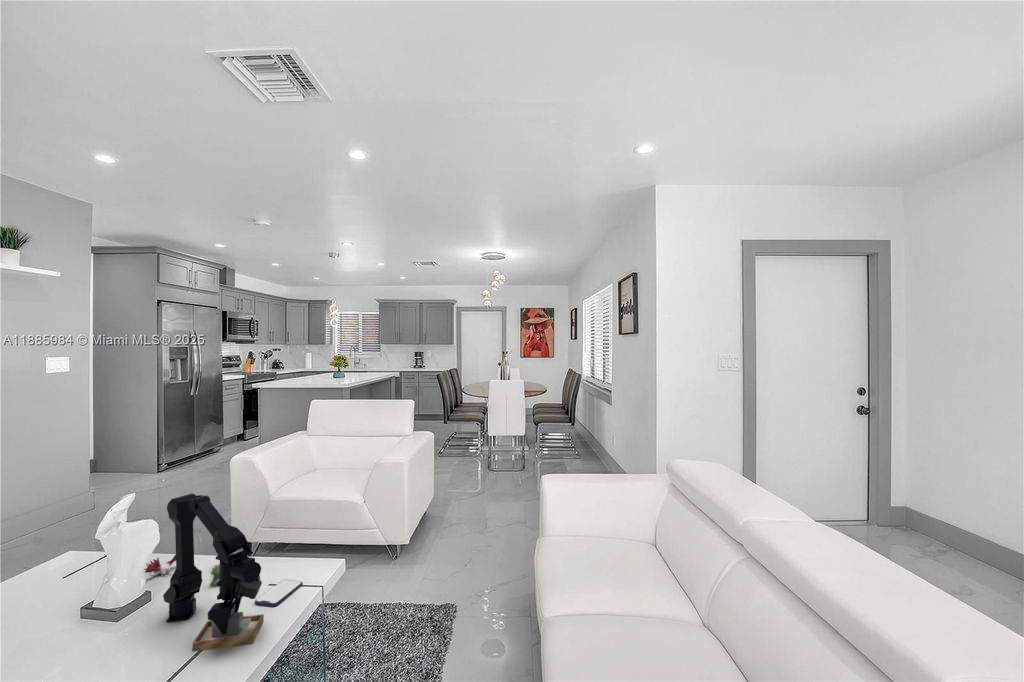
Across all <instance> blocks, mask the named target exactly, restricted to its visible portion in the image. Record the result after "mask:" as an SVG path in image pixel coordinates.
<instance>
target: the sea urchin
mask: <svg viewBox="0 0 1024 682" xmlns="http://www.w3.org/2000/svg"><path fill="white" fill-rule="evenodd" d="M201 571H202V570H201ZM203 572H204V571H202V573H203ZM206 572H209V573H208V574H207V575H210V574H211V575H210V576H209V578H210V581H208V582H209V583H208V584H209V586H210V587H213V588H214V587H217V582H218V581H219V577H220V563H218V564H214V565H213V566H212V567H211V569H210V570H208V569H207V570H206ZM206 572H205V573H203V574H206Z"/></svg>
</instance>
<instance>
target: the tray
mask: <svg viewBox="0 0 1024 682" xmlns="http://www.w3.org/2000/svg"><path fill="white" fill-rule="evenodd" d="M264 615H265V614H255V615H246V616H244V615H243V619H244V618H251V623H250V624H249V626H248V627H245V628H242V630H241V632H240V634H239V635H238V636H229V637H221V638H212V620H207V621H206V622H205V624H204V625H203V627H202V628H201V629H200V631H199V633H198V635H197V636H196V637H195V639H194V640H193V642H192V647H191V648H192V652H197V651H204V650H212V649H221V648H229V647H236V646H243V645H244V646H245V645H252V644H254V642H255V640H256V638H257V636H258V634H259V632H260V630H261V628H262V625H263V623H264Z"/></svg>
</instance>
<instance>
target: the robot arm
mask: <svg viewBox="0 0 1024 682" xmlns="http://www.w3.org/2000/svg"><path fill="white" fill-rule="evenodd" d="M169 500H170V501H168V502H167V506H166V511H167V514H168V518H169V520H171V522H172V523H173V524H174V530H175V531H174V533H175V538H174V539H175V541H174V542H175V555H176V561H175V570H174V572H172V575H171V577H170V581H169V582H170V583H169V587H168V588H167V590H166V591H165V592H164V593H163V594H162V595H163V596H162V597H163V602H165V603H168V618H167V619H166V623H169V622H170V623H171V622H178V621H187V620H189V619H190V618H191V617H192V615H193V614H194V613H195V612H196V611H197V609H198V608H197V598H196V597H195V596H196V595H195V594H198V593H199V592H200V591H201V586H202V583H203V579H202V578H203V576H202V575H203V572H202V570H201V569H199V568H198V567H197V566H196V565H195V543H194V541H195V539H194V537H195V536H194V521H195V519H196V517H197V518H198V519H199V520H200V522H201V523H202V525H203V526H204V527H205V528H206V529H207V531H208V532H209V534H210V535H211V537H212V538H213V539H212V546H213V548H214V550H215V552H216V554H217V555H216V556H215V560H218V561H219V564H220V577H219V581H216V584H217V585H216V587H219V589H218V590H219V591H218V592H219V593H218V594H217V595H216V600H219V601H220V600H221V601H223V602H216V603H214V604H213V605H212V606H211V607H210V608H209V611H208V612H207V621H210V620H212V621H213V622H214V623H215V625H216V626H217V627H218V629H219V630H220V632H221V633H222V635H224V634H226V633H227V629H228V624H229V618H231V617H232V616H233V614H234V613H236V612H239V609H240V605H241V602H242V599H243V597H244V598H248V599H250V600H254V599H255V600H256V599H257V595H258V593H259V592H260V589H261V587H262V584H263V583H262V580H261V575H260V574H261V571H262V566H261V565H260V563H259V562H256V558H254V557H250V556H249V555H251V554H253V551H252V549H251V548H252V547H251V544H250V543H249V542H248V540H247V538H246V535H245V534H244V532H243V531H241V530H240V529H239V528H238V527H236V526H232V525H229V524H228V522H227V521H226V520H225V519H224V517H223V515H221V514H220V512H219V511H218V510H217V509H216V507H215V506H214V505H213V503H212V502H211V498H210V496H209V495H203V494H198V495H196V494H195V493H192V492H191V493H188V494H184V495H181V496H177V497H175V498H174V497H173V498H171V499H169ZM238 551H239V552H238Z"/></svg>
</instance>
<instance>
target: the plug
mask: <svg viewBox="0 0 1024 682" xmlns="http://www.w3.org/2000/svg"><path fill="white" fill-rule="evenodd" d="M243 617H244V611H238V612H236V613H234V614H233V616H232V617H231V618H229V624H228V629H227V633H226V634H224V635H222V633H221V632H220V630H219V629H218V627H217V626H216V625H215V623H214V622H213V621H212V638H221V637H229V636H238V635H239V634H240V632H241V630H242V628H245V627H248V626H249V624H250V623H251V618H244V619H243Z"/></svg>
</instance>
